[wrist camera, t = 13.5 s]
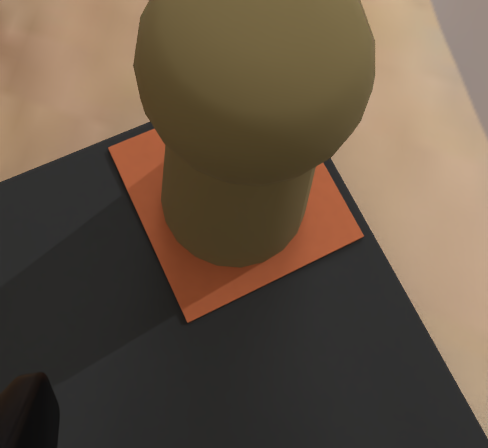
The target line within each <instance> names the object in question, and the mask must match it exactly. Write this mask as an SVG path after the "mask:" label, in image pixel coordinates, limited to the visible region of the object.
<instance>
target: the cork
mask: <svg viewBox="0 0 488 448" xmlns="http://www.w3.org/2000/svg"><path fill="white" fill-rule="evenodd" d="M133 66H134V71H135V76H136V80H137V85H138V89H139V94H140V99H141V102H142V105H143V108H144V111H145V114H146V115H147V117H148V119H149V120H150V122H151V123H152V125H153V127H154V128H155V130H156V131H157V133H158V135H159V136H160V138H161V139H162V141H163V143H164V144H165V155H164V167H163V179H162V192H161V203H162V208H163V213H164V217H165V222H166V224H167V225H168V227H169V229H170V230H171V232H172V234H173V235H174V237H175V239H176V240H177V242H178V243H180V244H181V245H182V246H183V247H184V248H185V249H187V250H188V251H189V252H190V253H191V254H193V255H194V256H195V257H197V258H199V259H202V260H204V261H207V262H209V263H212V264H214V265H216V266H227V267H239V268H241V267H245V266H249V265H254V264H258V263H262V262H265V261H266V260H268V259H269V258H271V257H273V256H274V255H276V254H278V253H279V252H281V251H282V250H284V248H285V247H286V246H287V245H288V244H289V242H290V241H291V240H292V239H293V238H294V236H295V235H296V234H297V232H298V230H299V227H300V225H301V222H302V219H303V217H304V214H305V211H306V207H307V202H308V198H309V194H310V190H311V186H312V181H313V177H314V173H315V169H316V166H318V165H320V164H321V163H323V162H325V161H327V160H328V159H330V158H331V157H332V156H333V155H334V154H335V152H336V151H337V150H338V149H339V148H340V147H341V145H342V144H343V143H344V142H345V141H346V140H347V138H348V137H349V136H350V135H351V134H352V132H353V131H354V130H355V128H356V127H357V125H358V124H359V123H360V121H361V119H362V116H363V114H364V111H365V108H366V105H367V103H368V100H369V97H370V95H371V92H372V89H373V83H374V78H375V40H374V37H373V34H372V31H371V29H370V26H369V23H368V20H367V17H366V15H365V12H364V9H363V6H362V4H361V1H360V0H149V2H148V4H147V6H146V7H145V9H144V11H143V13H142V15H141V17H140V23H139V30H138V37H137V43H136V50H135V57H134V65H133Z"/></svg>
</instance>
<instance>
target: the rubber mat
mask: <svg viewBox="0 0 488 448" xmlns="http://www.w3.org/2000/svg"><path fill="white" fill-rule="evenodd" d="M164 155H165V144H164V143H163V141H162V139H161V138H160V136H159V135H158V133H157V131H156V130H155V128H154V127H153V125H152V123H151V122H148V123H146V124H143V125H141V126H138V127H136V128H133V129H131V130H128V131H126V132H123V133H121V134H118V135H116V136H114V137H111V138H109V139H106V140H104V141H101V142H99V143H96V144H94V145H91V146H89V147H86V148H84V149H81V150H79V151H76V152H74V153H72V154H69V155H67V156H64V157H62V158H59V159H57V160H54V161H52V162H49V163H47V164H44V165H42V166H39V167H37V168H34V169H32V170H29V171H27V172H25V173H22V174H20V175H17V176H15V177H12V178H10V179H7V180H5V181H2V182H0V394H1V393H2V392H3V390H4V389H5V388H6V387H7V386H8V385H9V384H10V383H11V382H12V380H13V379H14V378H16V377H17V376H19V375H22V374H28V373H35V372H44V373H45V374H46V375H47V376H48V379H49V381H50V384H51V386H52V389H53V391H54V394H55V396H56V399H57V401H58V404H59V409H60V423H59V434H58V445H57V448H488V439H487V437H486V435H485V433H484V431H483V430H482V428H481V426H480V424H479V423H478V421H477V419H476V417H475V415H474V414H473V412H472V410H471V408H470V406H469V405H468V403H467V401H466V399H465V398H464V396H463V394H462V392H461V390H460V389H459V387H458V385H457V383H456V381H455V380H454V378H453V376H452V374H451V373H450V371H449V369H448V367H447V365H446V364H445V362H444V360H443V358H442V356H441V355H440V353H439V351H438V349H437V348H436V346H435V344H434V342H433V340H432V339H431V337H430V335H429V333H428V331H427V330H426V328H425V326H424V324H423V323H422V321H421V319H420V317H419V315H418V314H417V312H416V310H415V308H414V306H413V305H412V303H411V301H410V299H409V298H408V296H407V294H406V292H405V290H404V289H403V287H402V285H401V283H400V281H399V280H398V278H397V276H396V274H395V273H394V271H393V269H392V267H391V265H390V264H389V262H388V260H387V258H386V256H385V255H384V253H383V251H382V249H381V248H380V246H379V244H378V242H377V240H376V239H375V237H374V235H373V233H372V231H371V230H370V228H369V226H368V224H367V223H366V221H365V219H364V217H363V215H362V214H361V212H360V210H359V208H358V206H357V205H356V203H355V201H354V199H353V198H352V196H351V194H350V192H349V190H348V189H347V187H346V185H345V183H344V181H343V180H342V178H341V176H340V174H339V173H338V171H337V169H336V167H335V165H334V164H333V162H332V160H331V158H330V159H328V160H327V161H325V162H323V163H321V164H320V165H318V166H316V169H315V173H314V177H313V181H312V186H311V190H310V194H309V198H308V202H307V207H306V211H305V214H304V217H303V219H302V222H301V225H300V227H299V230H298V232H297V234H296V235H295V236H294V238H293V239H292V240H291V241H290V242H289V244H288V245H287V246H286V247H285V248H284V250H282V251H281V252H279V253H278V254H276V255H274V256H273V257H271V258H269V259H268V260H266V261H265V262H262V263H258V264H254V265H249V266H245V267H241V268H239V267H227V266H216V265H214V264H212V263H209V262H207V261H204V260H202V259H199V258H197V257H195V256H194V255H193V254H191V253H190V252H189V251H188V250H187V249H185V248H184V247H183V246H182V245H181V244H180V243H178V242H177V240H176V239H175V237H174V235H173V234H172V232H171V230H170V229H169V227H168V225H167V224H166V222H165V217H164V213H163V208H162V203H161V192H162V179H163V167H164Z"/></svg>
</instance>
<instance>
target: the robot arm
mask: <svg viewBox="0 0 488 448" xmlns="http://www.w3.org/2000/svg"><path fill="white" fill-rule="evenodd" d="M59 423H60V409H59V404H58V401H57V399H56V396H55V394H54V391H53V389H52V386H51V384H50V381H49V379H48V376H47V375H46V374H45V373H44V372H35V373H28V374H22V375H19V376H17V377H16V378H14V379H13V380H12V382H11V383H10V384H9V385H8V386H7V387H6V388H5V389H4V390H3V392H2V393H1V394H0V448H57V445H58V434H59Z"/></svg>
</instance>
